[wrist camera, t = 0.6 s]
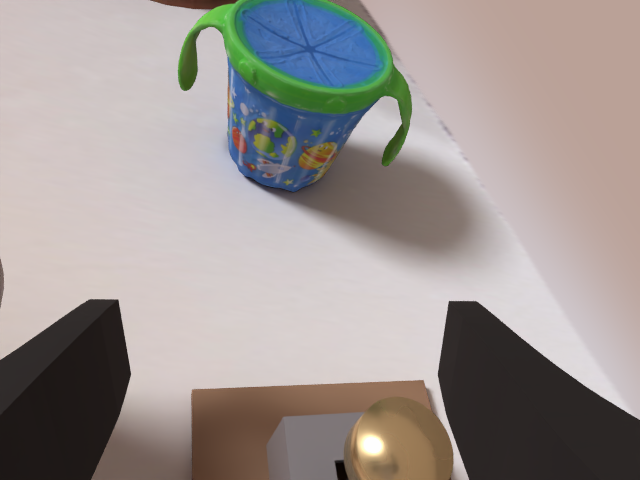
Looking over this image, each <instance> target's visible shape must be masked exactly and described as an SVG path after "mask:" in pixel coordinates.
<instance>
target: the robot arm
mask: <svg viewBox="0 0 640 480" xmlns="http://www.w3.org/2000/svg"><path fill="white" fill-rule="evenodd" d="M130 376H131V371H130V365H129V360H128V354H127V348H126V342H125V336H124V330H123V325H122V319H121V313H120V307H119V301H118V300H105V299H90V300H88V301H86V302H85V303H83V304H81V305H80V306H78V307H77V308H75V309H74V310H72V311H71V312H70V313H68V314H67V315H65V316H64V317H62V318H61V319H59V320H58V321H57V322H55V323H54V324H52V325H51V326H50V327H48V328H47V329H45V330H44V331H42V332H41V333H40V334H38V335H37V336H35V337H34V338H32V339H31V340H29V341H28V342H27V343H25V344H24V345H22V346H21V347H19V348H18V349H16V350H15V351H13V352H12V353H10V354H9V355H7V356H6V357H4V358H3V359H1V360H0V480H91V478H92V476H93V474H94V472H95V470H96V467H97V465H98V463H99V461H100V458H101V456H102V454H103V452H104V449H105V447H106V445H107V443H108V440H109V438H110V436H111V434H112V431H113V429H114V427H115V424H116V422H117V420H118V417H119V414H120V411H121V408H122V405H123V401H124V398H125V395H126V391H127V387H128V384H129V380H130ZM438 378H439V383H440V388H441V393H442V398H443V402H444V406H445V411H446V415H447V418H448V421H449V424H450V427H451V430H452V433H453V435H454V438H455V441H456V444H457V447H458V450H459V452H460V455H461V458H462V461H463V463H464V466H465V469H466V472H467V475H468V477H469V480H640V420H639V419H637V418H635V417H634V416H632V415H630V414H629V413H627V412H625V411H624V410H622V409H620V408H619V407H617V406H616V405H614V404H612V403H611V402H609V401H607V400H606V399H604V398H602V397H601V396H599V395H598V394H596V393H595V392H593V391H592V390H590V389H589V388H587V387H586V386H584V385H583V384H581V383H580V382H579V381H577V380H576V379H574V378H573V377H572V376H570V375H569V374H567V373H566V372H565V371H563V370H562V369H560V368H559V367H558V366H556V365H555V364H554V363H552V362H551V361H550V360H548V359H547V358H546V357H544V356H543V355H542V354H541V353H539V352H538V351H537V350H536V349H534V348H533V347H532V346H531V345H529V344H528V343H527V342H526V341H524V340H523V339H522V338H521V337H519V336H518V335H517V334H516V333H515V332H513V331H512V330H511V329H510V328H509V327H507V326H506V325H505V324H504V323H503V322H501V321H500V320H499V319H498V318H497V317H496V316H494V315H493V314H492V313H491V312H489V311H488V310H487V309H486V308H485V307H483V306H482V305H481V304H479V303H478V302H477V301H449V304H448V311H447V317H446V324H445V330H444V337H443V344H442V350H441V357H440V363H439V370H438Z"/></svg>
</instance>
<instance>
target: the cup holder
mask: <svg viewBox="0 0 640 480" xmlns="http://www.w3.org/2000/svg"><path fill="white" fill-rule="evenodd" d="M151 1H155V2H158V3H162V4H165V5H170V6H177V7H184V8H191V9H214V8H216V7H219V6H222V5H227V4H235V3H236V2H237V1H239V0H151Z"/></svg>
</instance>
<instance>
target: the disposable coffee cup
mask: <svg viewBox="0 0 640 480" xmlns="http://www.w3.org/2000/svg"><path fill="white" fill-rule="evenodd" d="M3 290H4V273H3V268H2V264H1V259H0V307H1V301H2V296H3Z"/></svg>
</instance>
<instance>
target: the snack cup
mask: <svg viewBox="0 0 640 480" xmlns="http://www.w3.org/2000/svg"><path fill="white" fill-rule="evenodd" d="M208 27H215V28H216V29H218V30H219V31H220V32H221V33H222V35H223V38H224V44H225V49H226V53H227V56H228V132H227V135H228V140H229V151H230V155H231V157H232V159H233V161H234V162H235V163H236V164H237V166H238V169H239V171H240V172H241V173H242V174H243V175H245V176H246V177H251V178H253V179H254V180H255V181H257V182H259V183H260V184H263V185H267V186H269V187H274V188H283V189H285V190H289V191H292V192H296V191H297V190H299V189H300V188H302V187H306V186H308V185H311V184H313V183H314V182H316V181H317V180H319V179H320V178H322V177H323V176H324V175H325V173H326V172H327V171H328V169H329V167H330V166H331V164H332V163H333V161H334V160H335V158H336V157H337V155H338V154H339V152H340V150H341V149H342V147H343V146H344V144H345V143H346V141H347V139H348V138H349V136H350V134H351V132H352V131H353V129H354V128H355V127H356V125H357V124H358V122H359V121H360V120H361V118H362V116H363V115H364V114H365V113H366V112H367V111H368V110H369V109H370V108H371V107H372V106H373V105H374V104H375V103H376V102H377V101H378V100H379V99H380V98H381V97H383V96H391V97H393V98H395V99H397V101H398V105H399V110H400V115H401V119H402V124H401V126H400V127H399V129H398V131H397V132H396V134H395V136H394V137H393V138H392V139H391V140H390V142H389V143H388V145H387V146H386V148H385V150H384V153H383V157H382V165H383V166H388V165H389V164H390V163H391V162H392V161H393V160H394V158H395V157H396V156H397V154H398V153H399V151H400V149H401V148H402V145H403V144H404V141H405V139H406V136H407V133H408V130H409V125H410V118H411V113H412V102H411V94H410V91H409V87H408V84H407V83H406V80H405V79H404V77H403V75H402V74H401V73H400V72H399V71H398V70H397V69H396V67H395V66H394V64H393V58H392V55H391V51H390V49H389V47H388V46H387V44H386V42H385V41H384V39H383V38H382V37H381V35H380V34H379V33H378V32H377V31H376V30H375V29H373V28H372V27H371V26H370V25H369V24H368V23H367V22H365V21H364V20H363V19H361V18H360V17H359V16H357V15H355V14H354V13H352V12H351V11H349V10H347V9H345V8H343V7H341V6H339V5H337V4H335V3H332V2H330V1H327V0H239V1H237V2H236V3H235V4H227V5H222V6H219V7H216V8H214V9H213V10H211V11H209V12H207V13H206V14H205V15H204V16H202V18H200V19H199V20H198V22H197V23H196V24H195V25H194V27H193V28H192V29H191V30H190V32H189V33H188V35H187V37H186V39H185V41H184V44H183V47H182V50H181V54H180V59H179V65H178V80H179V84H180V87H181V89H182V90H184V91H187V90H189V89H190V88H191V87H192V86H193V84H194V82H195V79H196V76H197V71H198V66H197V51H196V39H197V37H198V35H199V33H200V31H201V30H203V29H206V28H208Z"/></svg>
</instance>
